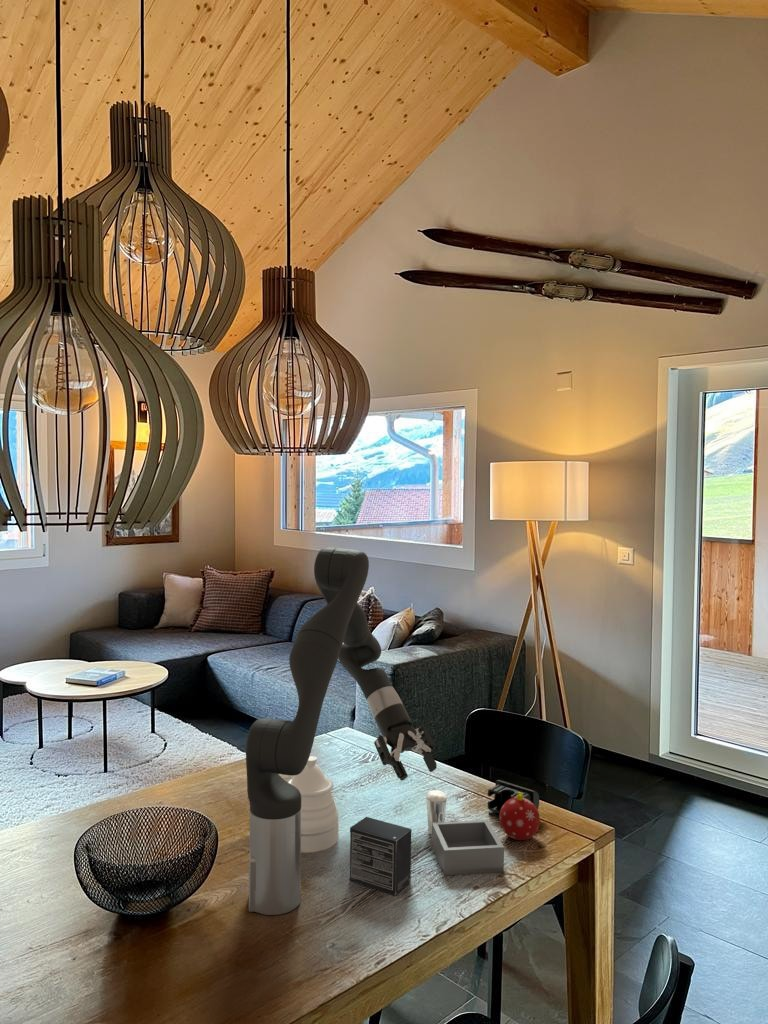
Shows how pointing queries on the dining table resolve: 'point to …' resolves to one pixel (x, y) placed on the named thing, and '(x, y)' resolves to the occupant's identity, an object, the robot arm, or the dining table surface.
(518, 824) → the christmas ornament
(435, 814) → the milkshake
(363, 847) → the small box
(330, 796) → the honey pot
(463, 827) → the bin
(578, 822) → the dining table surface
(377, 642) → the robot arm
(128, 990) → the dining table surface
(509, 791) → the end cap
